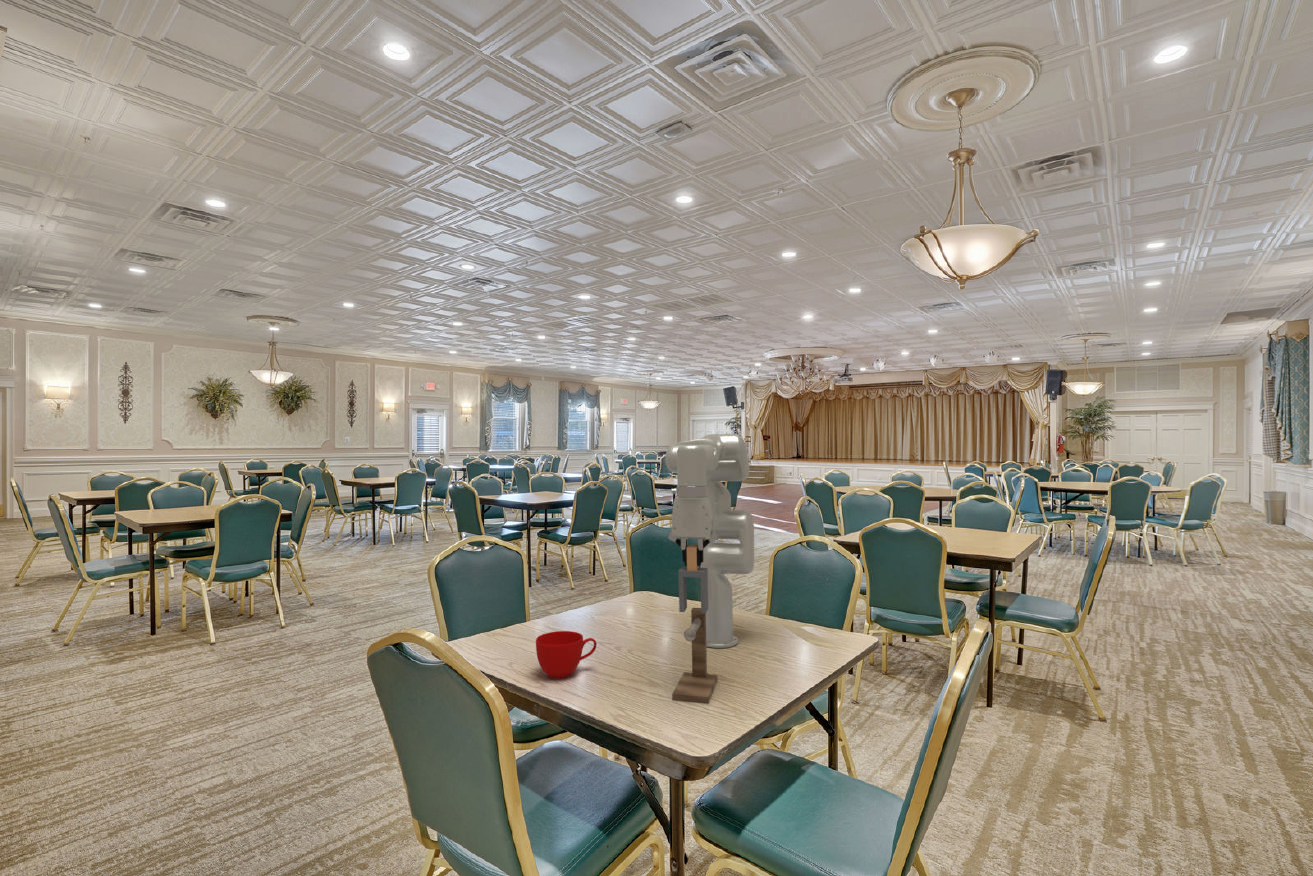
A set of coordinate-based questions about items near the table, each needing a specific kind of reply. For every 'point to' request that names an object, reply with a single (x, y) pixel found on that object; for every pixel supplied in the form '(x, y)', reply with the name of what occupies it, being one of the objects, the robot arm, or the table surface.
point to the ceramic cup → (561, 652)
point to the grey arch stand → (693, 571)
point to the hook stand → (696, 665)
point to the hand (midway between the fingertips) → (693, 564)
